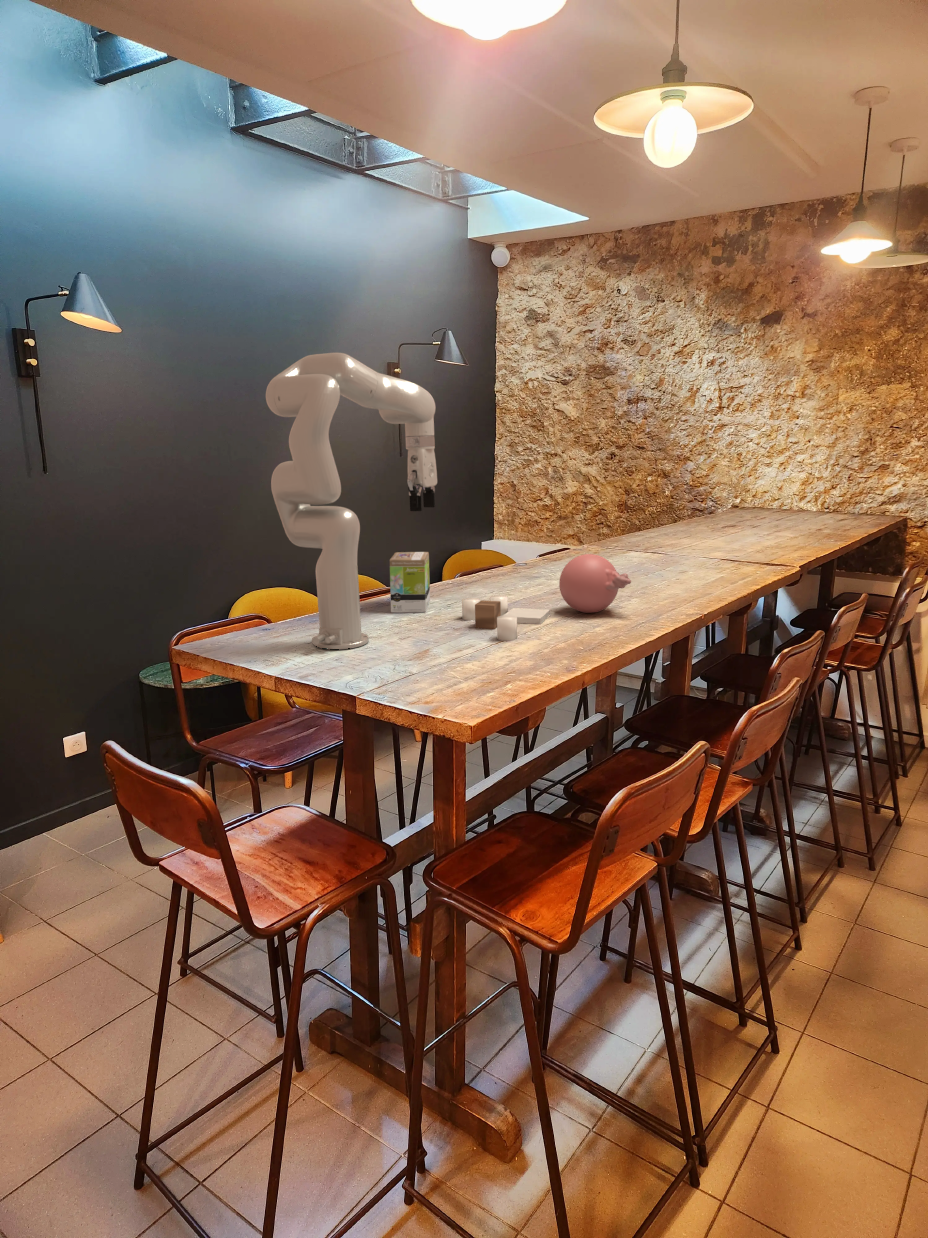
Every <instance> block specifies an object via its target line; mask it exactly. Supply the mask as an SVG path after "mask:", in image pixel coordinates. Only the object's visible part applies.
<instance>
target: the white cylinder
mask: <svg viewBox="0 0 928 1238" xmlns="http://www.w3.org/2000/svg"><path fill="white" fill-rule="evenodd" d="M489 601H501V616H503V615H504V614H506V613H507V612H508V611H509V610H508V609H509V603H508V601H509V599H508V596H507V595H504V594H501V595H500V594H498V595H495V594H494V595H491V596H489Z"/></svg>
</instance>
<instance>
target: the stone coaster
mask: <svg viewBox="0 0 928 1238" xmlns="http://www.w3.org/2000/svg"><path fill="white" fill-rule="evenodd" d="M504 615H511V616H516V617H517V624H531V625H541V624H542V623H544V620H545V619H546V620H547V619H548V618H549V617H550V616H551V609H541V608H525V607H523V608H521V607H513V608H511V609H510V610H508V612H507V613H506V614H504ZM549 615H550V616H549ZM548 616H549V617H548ZM547 617H548V618H547ZM546 620H545V621H546Z"/></svg>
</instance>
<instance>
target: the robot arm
mask: <svg viewBox="0 0 928 1238" xmlns="http://www.w3.org/2000/svg"><path fill="white" fill-rule="evenodd" d="M341 396H342V397H344V398H346V399H348V400H349V401H352V402H353V403H355V404H357V405H359V406H361V407H362V408H367V409H373V410H378V413H379V415H380V417H381V419H382V420H383V421H384V422H386V423H388V424H391V425H392V424H393V425H399V424H400V425H404V430H405V431H404V432H405V449H406V450H407V478H406V479H407V480H406V481H407V485H408V487H407V490H408V496H409V511H410V512H422V511H423V507H424V508H435V507H436V488H435V487H436V486H437V484H438V471H437V460H436V453H435V448H436V447H435V446H436V445H435V444H436V443H435V442H436V441H435V423H434V420H435V419H434V418H435V414H436V402H435V399H434V398H433V396H432V395H431V393H430V392H429V391H428V390H426V389H425V388H424V387H422V386H421V385H419V384H417V383H414V382H411V381H409V380H405V379H404V378H403V379H402V378H399V377H395V376H391V375H387V374H385V373H380V372H378V371H376V370H374V369H372V368H371V367H369V366H367V365H365V363H362V362H361V361H359V360H358V359H356V358H354V357H353V356H352V355H349V354H347V353H344V352H328V353H327V352H326V353H316V354H308V355H306V356H304V357H302V358H300V359H298V360H297V361H296V362H294V363H292V364H291V365H290V366H288V367H287V368H285V369H284V370H282V371H281V372H279V373H278V374H277V375H275V376H274V377H273V378H272V379H271V380H270V381H269V383H268V385H267V386H266V390H265V400H266V401H265V402H266V404H267V406H268V408H269V410H270V411H271V412H272V413H273V414H274V415H277V416H278V417H283V418H295V419H294V421H293V423H292V426H291V429H290V431H289V437H288V446H289V450H290V454H291V459H292V460H288V461H284V462H281V463H279V464H278V465H277V466H275V468H274V470H273V472H272V474H271V483H270V487H271V493H272V496H273V500H274V504H275V506H276V510H277V512H278V516H279V518H280V520H281V524H282V527H283V529H284V533H285V535H286V537H287V538H288V540H289V541H290V542H291V544H293V545H295V546H297V547H300V548H309V549H310V548H311V549H321V553H320V555H319V557H318V559H317V562H316V565H315V579H316V580H315V581H316V583H315V584H316V594H317V608H318V609H317V610H318V611H317V612H318V621H319V622H318V624H319V628H318V634H317V635H313V637H311V643H312V644H313V646H314V647H316V646H317V647H316V648H318V647H320V648H319V649H322V648H328V649H327V650H330V649H339V650H349V649H348V648H350V649H355V648H359V647H362V646H365V645H366V644H368V643H369V636H368V635H367V634H366V633H362V622H361V621H362V620H361V619H362V618H361V605H360V604H361V603H360V587H359V586H360V585H359V572H358V571H359V569H358V549H359V541H360V534H361V533H360V532H361V525H360V519H359V518H358V515H357V514H356V513H355V512H354V511H353V510H351V509H350V508H347V507H344V506H338V505H330V504H333V503H335V502H336V501H337V500H339V498H340V496H341V493H342V484H341V480H340V479H341V478H340V476H339V475H340V474H339V472H338V467H337V465H336V461H335V458H334V455H333V450H332V446H331V444H330V443H331V442H330V437H329V435H330V434H329V433H330V427H331V423H332V420H333V417H334V414H335V412H336V410H337V407H338V405H339V402H340V398H341ZM422 490H423V492H422ZM421 492H422V495H421ZM328 504H329V505H328Z"/></svg>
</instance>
